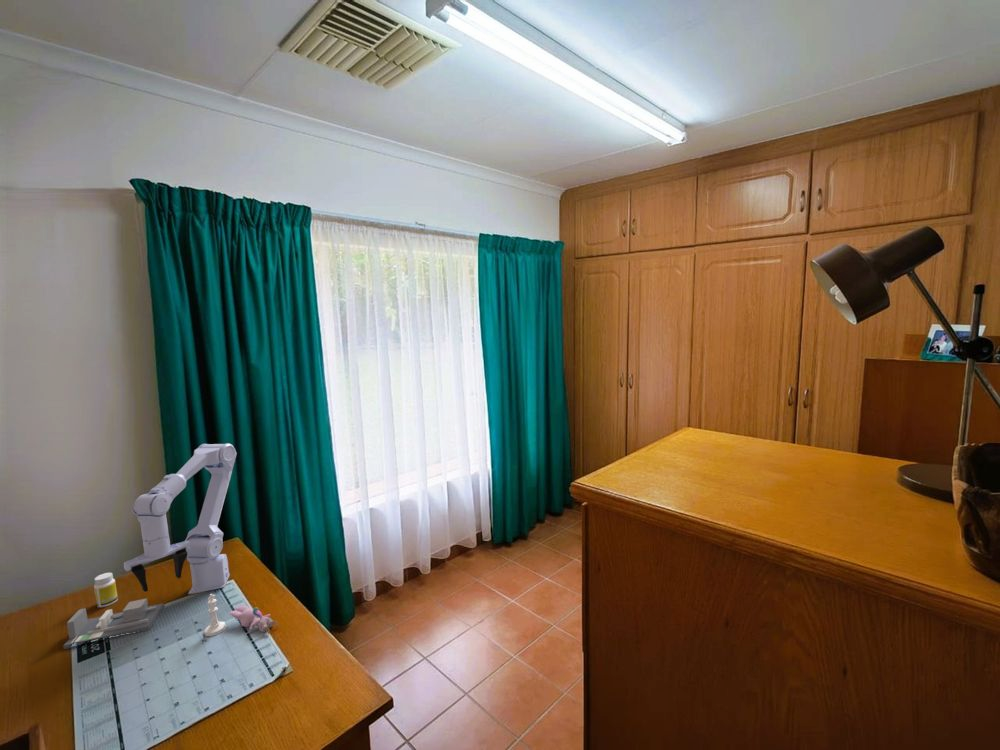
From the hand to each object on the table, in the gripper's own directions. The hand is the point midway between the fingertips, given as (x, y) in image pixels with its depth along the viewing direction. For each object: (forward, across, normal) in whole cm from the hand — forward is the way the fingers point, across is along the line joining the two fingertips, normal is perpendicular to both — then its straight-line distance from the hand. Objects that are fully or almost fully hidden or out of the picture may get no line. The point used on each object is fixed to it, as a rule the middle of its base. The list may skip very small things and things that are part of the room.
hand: (162, 583), depth 125 cm
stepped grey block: (+8, +7, -4) cm, 12 cm away
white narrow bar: (+8, +12, -6) cm, 16 cm away
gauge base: (+9, +10, -6) cm, 15 cm away
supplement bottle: (+10, +8, -23) cm, 26 cm away
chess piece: (+10, -6, +19) cm, 22 cm away
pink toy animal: (+10, -12, +26) cm, 30 cm away
